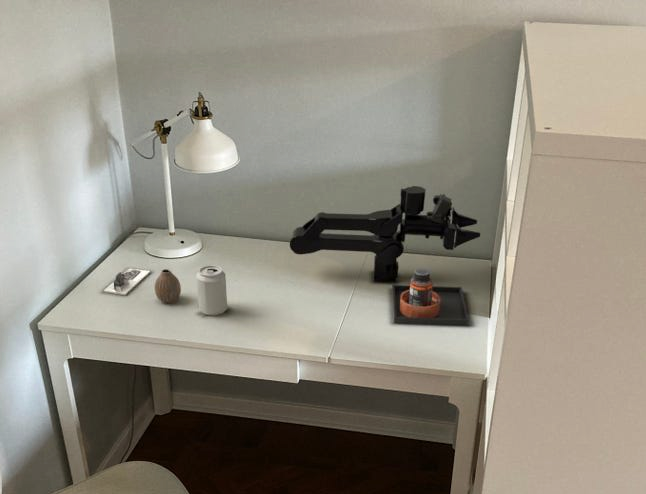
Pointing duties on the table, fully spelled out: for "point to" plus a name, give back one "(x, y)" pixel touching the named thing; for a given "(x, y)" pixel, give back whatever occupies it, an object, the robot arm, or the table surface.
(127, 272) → the rock on white stand
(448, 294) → the tray
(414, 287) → the supplement bottle
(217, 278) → the can
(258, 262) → the table surface
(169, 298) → the vase
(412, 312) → the bowl
